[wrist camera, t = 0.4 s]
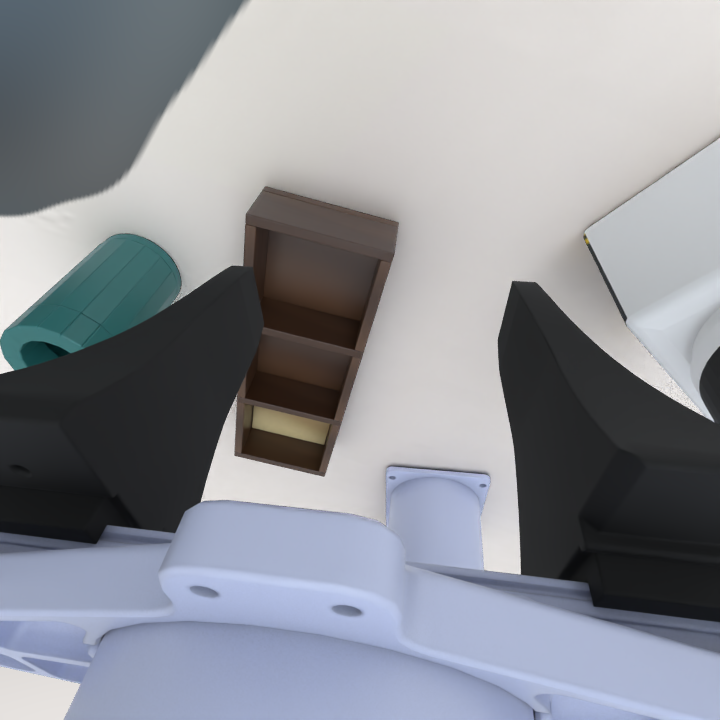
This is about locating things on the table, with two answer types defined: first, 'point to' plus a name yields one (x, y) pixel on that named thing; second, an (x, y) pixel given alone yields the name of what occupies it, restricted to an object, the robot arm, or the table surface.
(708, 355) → the medicine bottle
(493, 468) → the table surface
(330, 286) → the rack
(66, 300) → the jar
